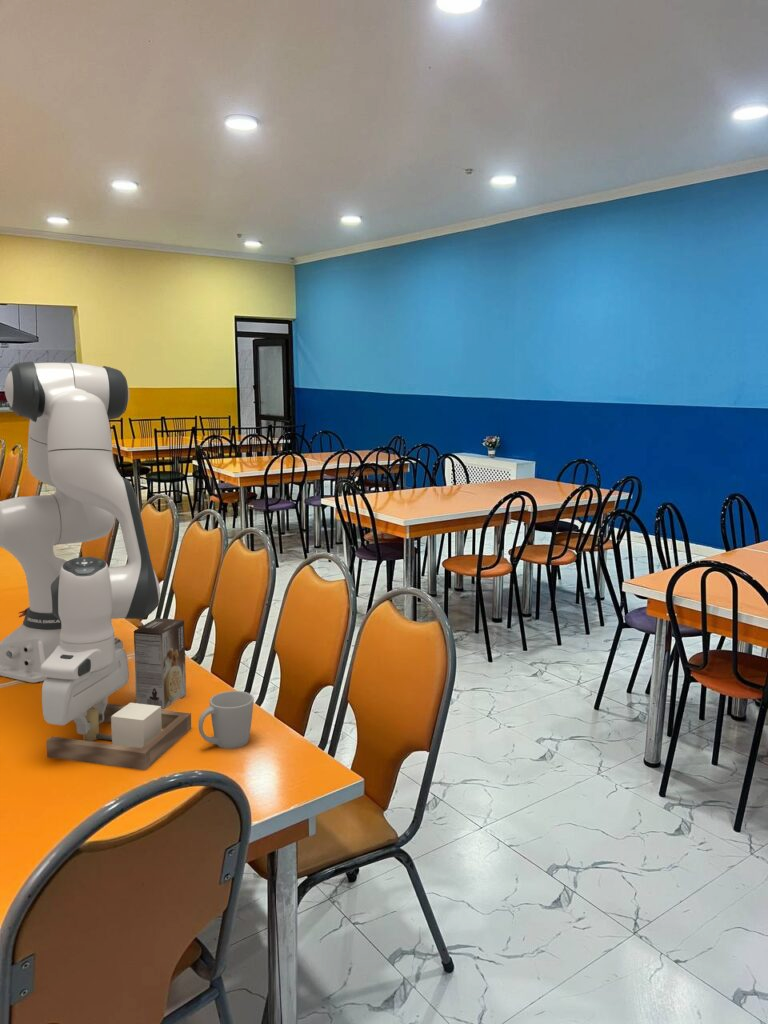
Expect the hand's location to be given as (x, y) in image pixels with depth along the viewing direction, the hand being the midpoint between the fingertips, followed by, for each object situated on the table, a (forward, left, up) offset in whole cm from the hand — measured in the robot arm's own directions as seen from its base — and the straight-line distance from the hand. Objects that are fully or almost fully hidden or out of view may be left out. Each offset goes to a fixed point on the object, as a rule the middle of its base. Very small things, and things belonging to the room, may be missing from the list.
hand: (90, 727), depth 130 cm
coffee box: (+3, +19, -3) cm, 19 cm away
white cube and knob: (+5, 0, -2) cm, 6 cm away
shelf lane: (+6, 0, -3) cm, 7 cm away
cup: (+24, +4, -3) cm, 24 cm away
